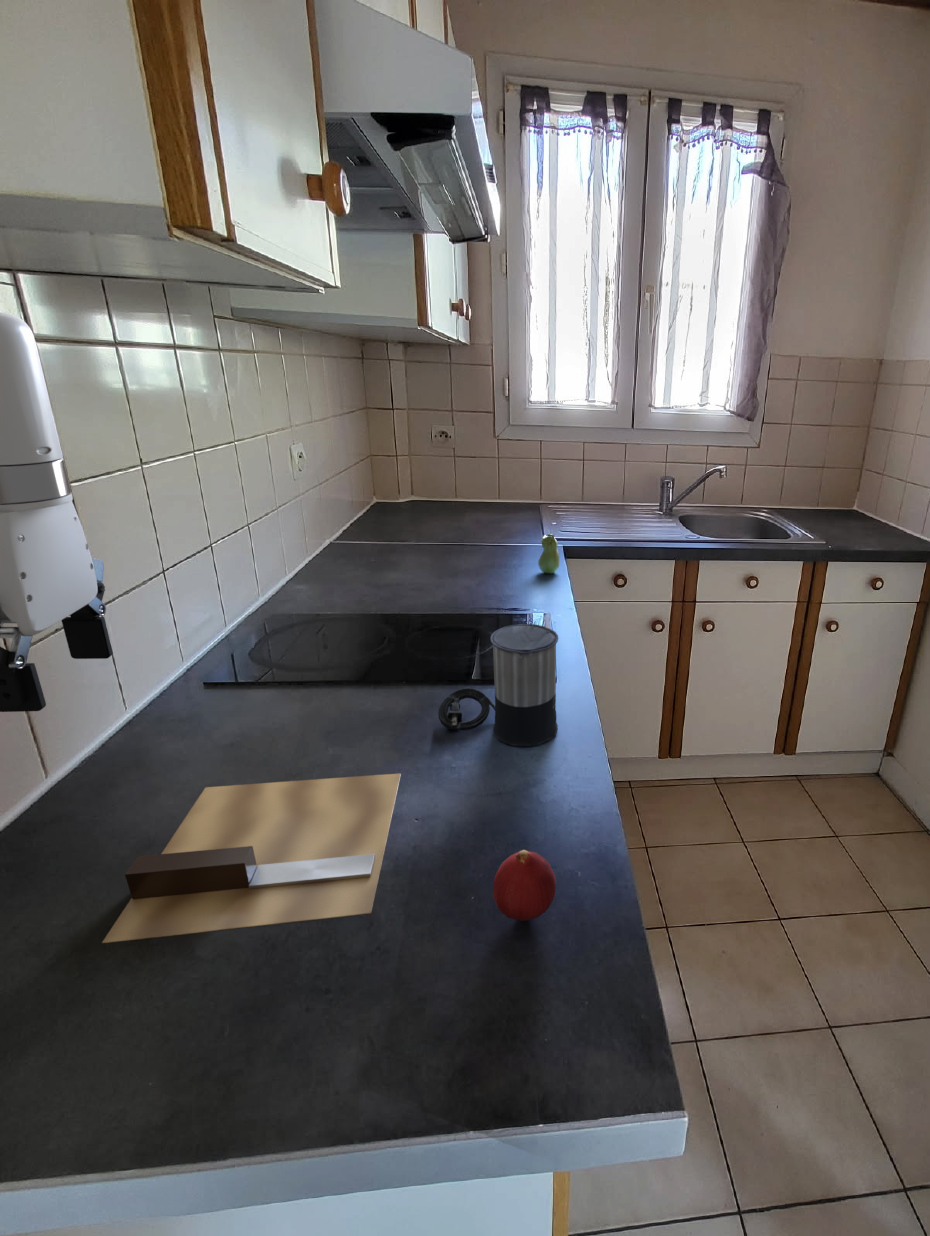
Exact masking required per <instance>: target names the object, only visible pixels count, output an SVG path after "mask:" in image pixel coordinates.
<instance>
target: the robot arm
mask: <svg viewBox="0 0 930 1236" xmlns="http://www.w3.org/2000/svg"><path fill="white" fill-rule="evenodd" d="M73 500H74V497H73V492H72V488H71V483H70V481H69V475H68V471H67V467H66V463H65V459H64V455H63V450H62V445H61V441H60V437H59V434H58V429H57V425H56V421H55V417H54V413H53V407H52V404H51V400H50V395H49V391H48V388H47V383H46V379H45V375H44V370H43V366H42V362H41V357H40V353H39V350H38V345H37V342H36V339H35V335H34V333H33V331H32V329H31V328H30V326H29V324H28V323H26V321H25V320H24V319H22V318H20V317H19V316H17V315H15V314H13V313H10V312H8V311H7V312H6V311H1V310H0V639H11V644H10V648H9V649H6V648H4V647H2V646H0V713H17V712H19V713H20V712H21V713H22V712H24V713H25V712H40V711H42V710H43V709H44V708H46V706H47V702H46V699H45V695H44V691H43V687H42V685H41V682H40V681H41V680H40V677H39V675H38V671H37V667H36V665H35V662H27V661H28V657H29V653H30V648H31V645H32V641H33V637H34V636H36V635H39V634H41V633H42V632H44V631H45V630H47V629H49V628H51V627H52V626H54V625H56V624H57V623H60V622H61V625H62V628H63V632H64V635H65V638H66V643H67V646H68V651H69V655H70V657H71V658H72V659H75V660H100V659H101V660H103V659H104V660H105V659H109V658H111V656H113V655H114V654H113V648H112V643H111V640H110V635H109V631H108V627H107V623H106V619H105V615H106V612H107V607H106V604H105V603H104V602H103V599H104V595H105V592H106V586H105V583H104V569H105V568H104V567H105V566H104V565H105V564H104V562H103V560H101V559H97V558H94V557H92V554H91V551H90V548H89V544H88V541H87V538H86V535H85V532H84V528H83V525H82V523H81V520H80V518H79V514H78V512H77V510H76V507H75V505H74V503H73ZM4 624H16V626H2V625H4Z"/></svg>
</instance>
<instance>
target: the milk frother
mask: <svg viewBox="0 0 930 1236" xmlns="http://www.w3.org/2000/svg"><path fill="white" fill-rule="evenodd" d="M489 639H490V642H491V644H492V654H493V655H492V656H493V658H492V659H493V679H494V682H493V683H494V703H493V702H492V700H491V699H490V698H489V697H488V696H487V695H486V694H485V693H483V692H482V691H480V690H478V689H476V688H471V687H466V688H460V689H457V690H455V691H454V692H452V693H450V694H449V695H448V696H446V698H444V700H443V701H442V702H441V703H440V705H439V708H438V720H439V721H440V723H441V725H442V726H444V727H445V728H447V729H450V730H454V731H469V730H473V729H476V728H478V727H480V726H481V725H482V724H484V723H485V721H486V720H487V719H488V717H489V714H490V709H491V708H490V707H492V709H493V710H494V724H493V728H492V729H493V730H492V731H493V735H494V736H495V737H496V739H498V741H500V742H502V743H504V744H506V745H508V746H509V745H510V746H515V747H534V746H538V745H541V744H544V743H546V742H548V741H550V740H552V739H553V738H554V737H555V736H556V734H557V733H558V730H559V729H558V728H559V727H558V726H559V725H558V723H557V710H556V702H557V693H556V691H557V690H556V689H557V643H558V642H559V635H558V633H557V632H556V631H555V630H553V629H552V628H549V627H547V626H545V625H539V624H536V623H529V624H528V623H518V624H511V625H505V626H503V627H500V628H498V629H497V630H495V631H494V632H492V634H491V635H490V637H489ZM465 699H471V700H474V701H476V702H477V703H478V704H480V707H481V711H480V713H479V714H478V715H477V716H476V717H473V719H471V720H467V721H463V720H462V719H463V712H462V711H461V704H460V701H462V700H465ZM449 710H450V711H449Z"/></svg>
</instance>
